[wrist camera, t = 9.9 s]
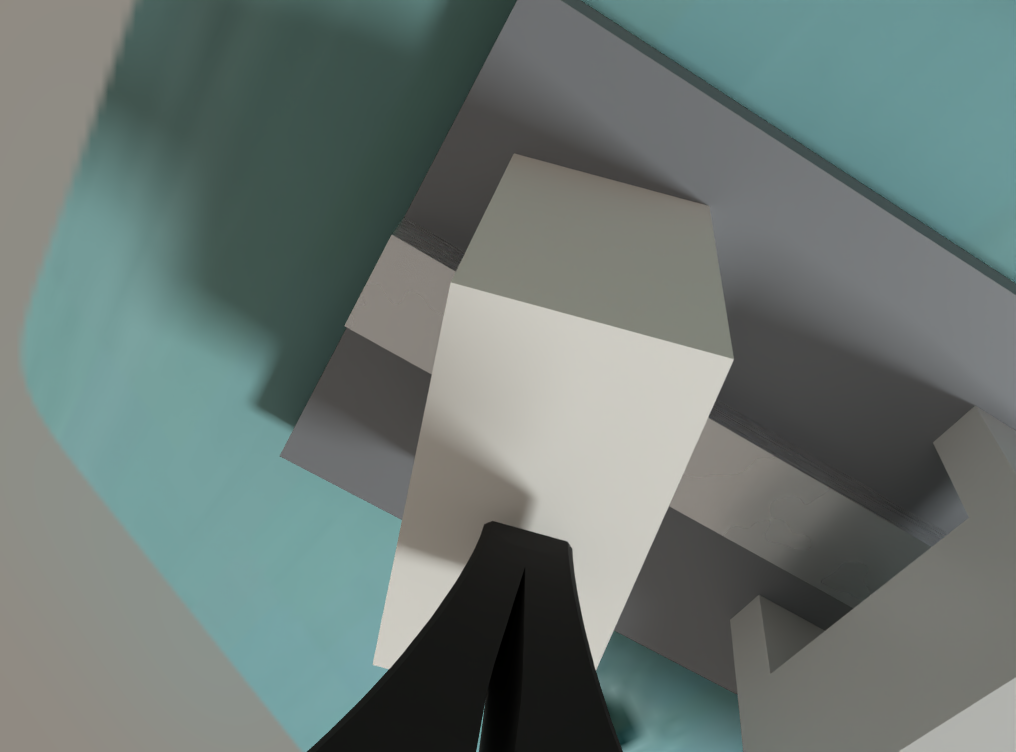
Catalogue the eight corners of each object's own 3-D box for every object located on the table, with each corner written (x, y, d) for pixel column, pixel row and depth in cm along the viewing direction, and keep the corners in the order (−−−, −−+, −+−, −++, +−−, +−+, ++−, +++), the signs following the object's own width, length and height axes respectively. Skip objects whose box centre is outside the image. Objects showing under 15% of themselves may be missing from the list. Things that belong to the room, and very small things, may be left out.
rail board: (1197, 401, 18) (1471, 671, 12) (801, 696, 25) (849, 963, 19) (536, -28, 16) (461, 38, 10) (296, 429, 22) (163, 638, 16)
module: (709, 205, 16) (733, 359, 11) (587, 529, 21) (566, 738, 16) (514, 153, 16) (450, 282, 11) (436, 488, 21) (368, 683, 16)
